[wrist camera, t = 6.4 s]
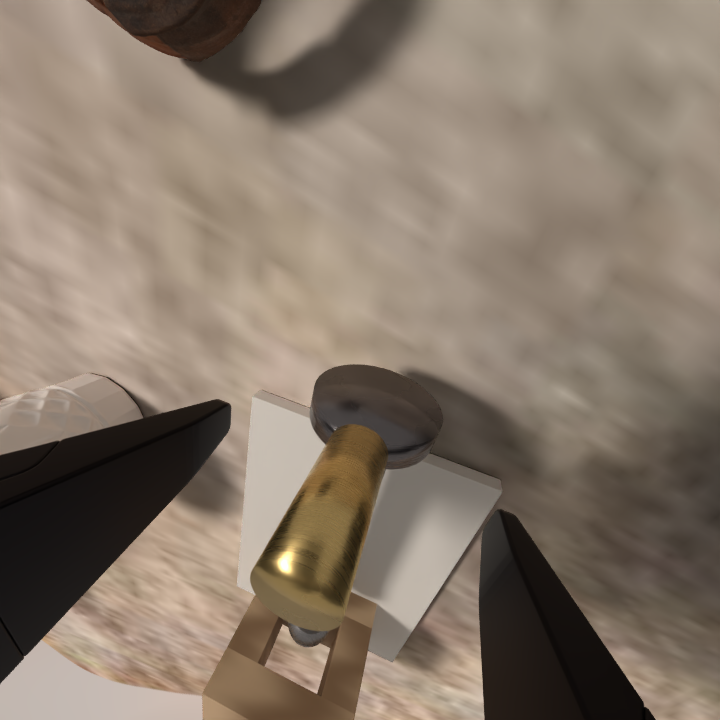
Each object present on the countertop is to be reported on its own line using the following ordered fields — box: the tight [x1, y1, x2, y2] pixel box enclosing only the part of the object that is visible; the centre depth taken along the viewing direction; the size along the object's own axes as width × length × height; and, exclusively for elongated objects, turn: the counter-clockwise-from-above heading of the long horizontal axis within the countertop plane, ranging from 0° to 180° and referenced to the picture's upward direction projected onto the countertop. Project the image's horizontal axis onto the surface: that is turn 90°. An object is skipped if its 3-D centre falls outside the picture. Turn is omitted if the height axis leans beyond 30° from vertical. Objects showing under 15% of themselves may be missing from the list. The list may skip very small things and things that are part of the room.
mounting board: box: [237, 390, 503, 662], centre depth 21 cm, size 14×20×1 cm
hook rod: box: [250, 365, 443, 647], centre depth 13 cm, size 5×18×9 cm, turn 167°
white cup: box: [0, 373, 143, 455], centre depth 18 cm, size 8×8×10 cm
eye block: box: [202, 592, 377, 720], centre depth 20 cm, size 8×5×8 cm, turn 77°
